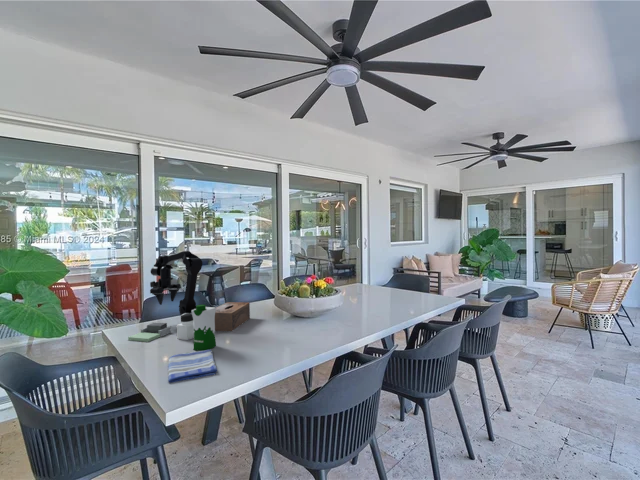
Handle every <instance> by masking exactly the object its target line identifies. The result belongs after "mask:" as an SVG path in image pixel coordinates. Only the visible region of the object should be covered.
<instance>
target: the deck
mask: <svg viewBox="0 0 640 480" xmlns="http://www.w3.org/2000/svg"><path fill="white" fill-rule="evenodd" d="M158 333H159V334H156V333H147V326H146V327H144V328H141V329H140V332H138V333H136V334H132V335H130V336H128V337H127V340H128V341H131V342H132V341H135V342H142V343H143V342H144V343H149V342H151V341H154V340H157V339H158V338H161V337H164V336H165V335H168V334H171V327H170V326H167V328H164V329H162V330H159V331H158Z"/></svg>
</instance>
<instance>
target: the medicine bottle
mask: <svg viewBox="0 0 640 480" xmlns="http://www.w3.org/2000/svg"><path fill="white" fill-rule="evenodd" d="M176 337H177V340H182V341H189V340H193V339H194V327H193V316H192V313H185V314H182V315H181V316H180V323H178V324H177V325H176Z"/></svg>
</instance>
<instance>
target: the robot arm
mask: <svg viewBox="0 0 640 480" xmlns="http://www.w3.org/2000/svg"><path fill="white" fill-rule="evenodd" d="M181 260H182V263H183V265H184V267H185V271H186V273H187V277H186V283H185V291H184V297H183V299H181V300H179V305H178V311H179V315H180V316H179V317H181V315H182V314H185V313H192V312H191V310H194V309H196V305H197V302H196V300H195V293H196V287H197V279H198V274H199V273H200V272H201V270H202V267H203V260H202V259H201V258H200V257H199V256H198V255H197V254H194V253H192V252H191V251H189V250H183V251H182V250H181V251H179V252H177V253H174V254H165V255H158V257H157V260H156V262H155V264H153V266H152V267H151V269H150V274H151V275H152V276H153V277H154V276H155V277H160V278H158V280H157V281H155V280H153V281H150V282H149V286H150V290H149V294H152V295H153V296H155V297H156V299H157V301H158V304H159V305H162V304H163V300H164V295H165V293H164V291H169V293H170V301H171V302H174V300H175V298H176V296H177V294H178V292H179V291H180V289H182V285H181V283H172V280H174V278H173V277H172V269H174V267H173V266H172V265H173V264H174V263H175V262H176V261H181Z"/></svg>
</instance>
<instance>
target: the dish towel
mask: <svg viewBox="0 0 640 480" xmlns="http://www.w3.org/2000/svg"><path fill="white" fill-rule="evenodd" d="M168 359H169V360H168V366H167V367H168V369H167V370H168V372H167V375H168V377H167V378H168V379H167V383H176V382H180V381H181V382H182V381H188V380H192V379H199V378H203V377H208V376H213V375H214V374H215V375H217V372H218V369H217V365H216V363H215V360H214V356H213V351H212V349H209V350H204V351H199V350H197V351H191V352H188V353H187V352H186V353H177V354H173V355H171V356H170V357H169V358H168Z"/></svg>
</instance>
